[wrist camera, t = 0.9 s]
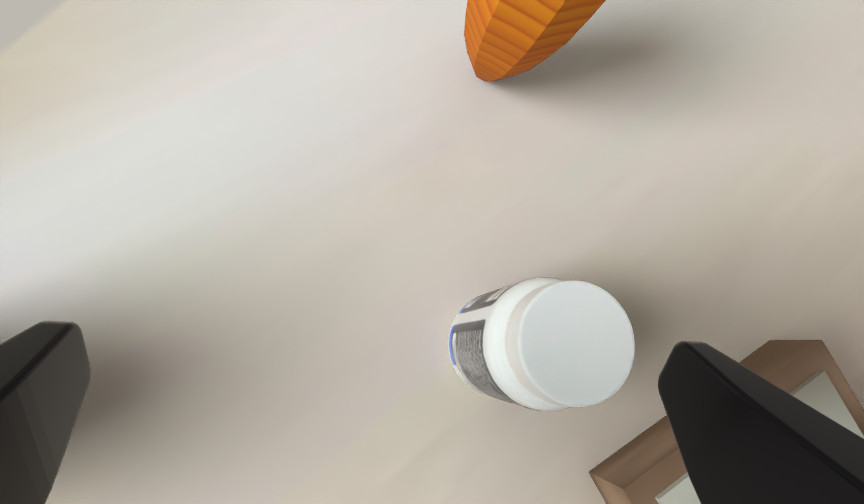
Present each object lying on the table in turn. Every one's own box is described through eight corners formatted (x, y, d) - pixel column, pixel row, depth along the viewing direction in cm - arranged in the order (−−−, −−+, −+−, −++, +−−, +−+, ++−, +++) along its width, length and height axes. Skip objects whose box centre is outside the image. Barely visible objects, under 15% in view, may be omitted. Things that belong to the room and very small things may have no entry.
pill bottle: (522, 412, 25) (620, 446, 16) (430, 370, 24) (483, 385, 16) (558, 317, 26) (665, 305, 18) (470, 275, 25) (539, 243, 17)
